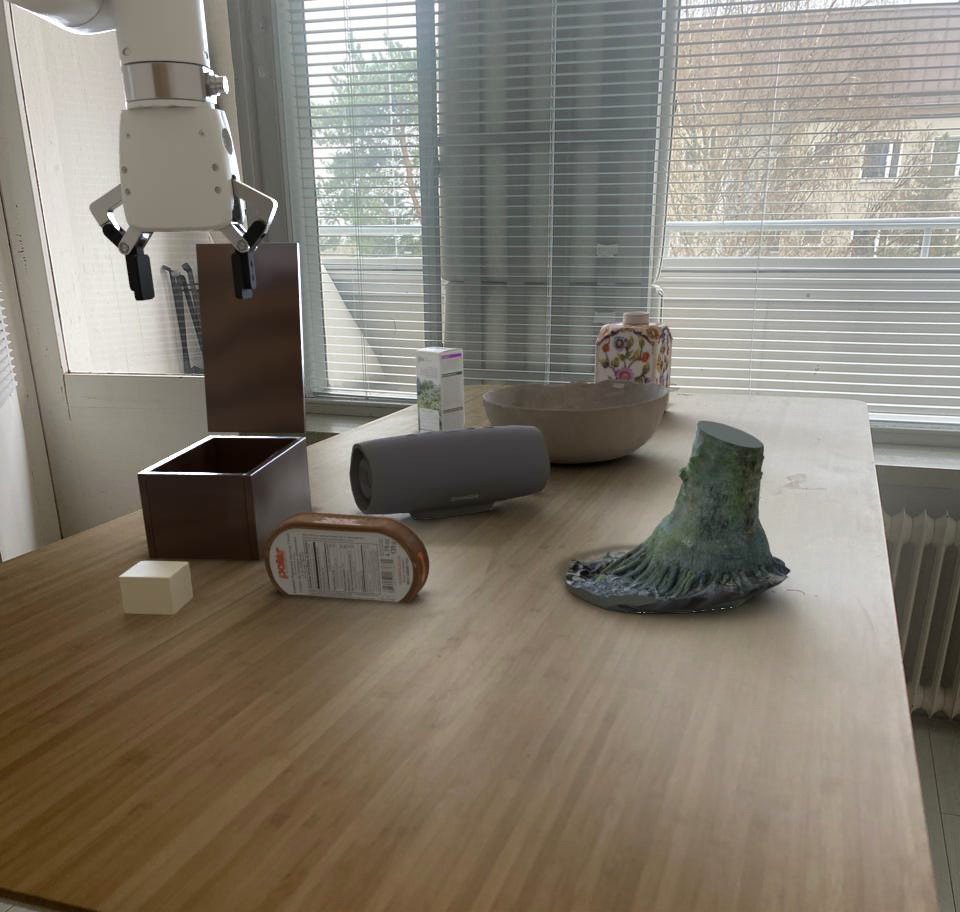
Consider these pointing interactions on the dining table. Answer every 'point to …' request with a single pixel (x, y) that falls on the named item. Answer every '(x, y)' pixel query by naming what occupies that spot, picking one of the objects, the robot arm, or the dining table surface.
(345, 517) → the tin
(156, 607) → the block
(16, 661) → the dining table surface
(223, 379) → the lid
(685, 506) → the tree stump
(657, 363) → the decorative jar
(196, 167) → the robot arm
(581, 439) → the bowl
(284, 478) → the chest
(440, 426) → the syrup box
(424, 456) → the bluetooth speaker
